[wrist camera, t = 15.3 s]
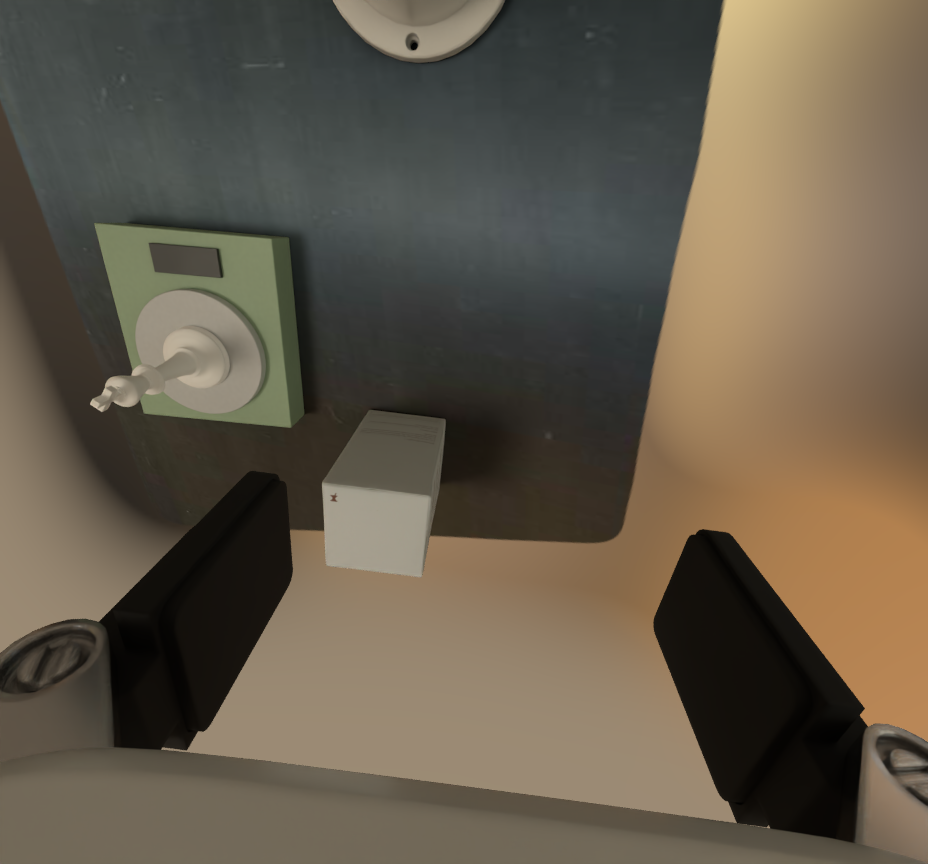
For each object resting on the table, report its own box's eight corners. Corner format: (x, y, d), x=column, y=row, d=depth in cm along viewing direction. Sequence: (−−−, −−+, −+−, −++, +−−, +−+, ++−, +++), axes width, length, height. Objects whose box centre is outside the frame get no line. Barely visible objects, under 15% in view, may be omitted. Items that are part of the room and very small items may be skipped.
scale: (124, 222, 34) (83, 222, 31) (289, 237, 34) (266, 238, 30) (166, 401, 41) (136, 417, 37) (304, 414, 40) (287, 432, 37)
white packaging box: (366, 476, 43) (320, 567, 31) (368, 406, 40) (318, 480, 28) (441, 486, 43) (422, 581, 31) (449, 418, 40) (431, 496, 28)
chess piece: (241, 354, 34) (150, 401, 25) (212, 398, 36) (119, 456, 27) (183, 312, 33) (67, 344, 24) (157, 359, 35) (40, 406, 26)
